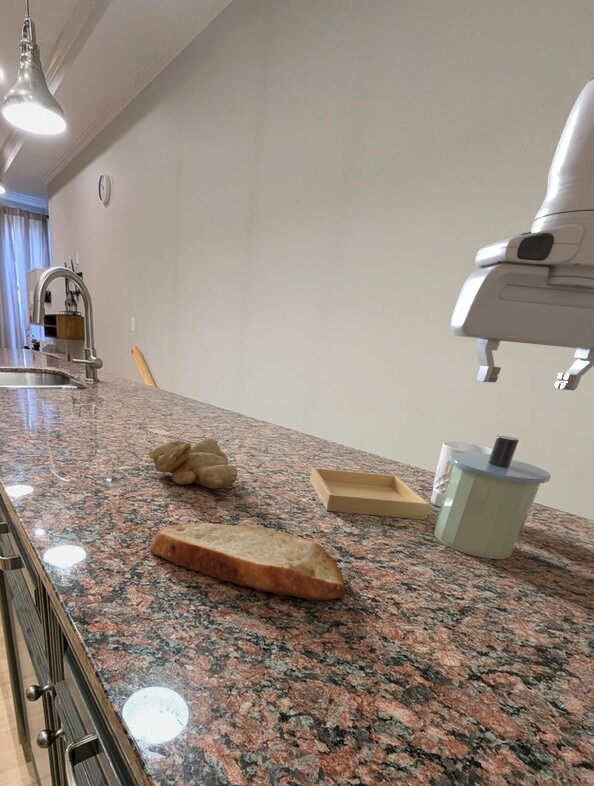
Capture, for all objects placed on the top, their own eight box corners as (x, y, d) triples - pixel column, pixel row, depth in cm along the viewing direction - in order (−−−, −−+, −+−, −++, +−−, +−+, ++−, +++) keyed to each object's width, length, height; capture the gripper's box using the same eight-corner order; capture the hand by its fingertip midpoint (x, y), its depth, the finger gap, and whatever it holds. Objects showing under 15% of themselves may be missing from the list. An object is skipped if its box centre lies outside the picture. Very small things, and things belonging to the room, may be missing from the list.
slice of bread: (142, 540, 53) (143, 511, 52) (272, 526, 60) (276, 500, 59) (198, 632, 38) (202, 594, 37) (363, 599, 45) (371, 567, 44)
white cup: (487, 516, 72) (509, 456, 68) (439, 512, 71) (458, 451, 68) (462, 499, 79) (480, 443, 75) (418, 495, 79) (434, 439, 75)
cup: (487, 530, 66) (511, 462, 62) (528, 562, 57) (560, 484, 53) (422, 524, 66) (442, 455, 62) (453, 555, 57) (479, 477, 53)
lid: (512, 465, 63) (524, 432, 61) (569, 492, 52) (585, 453, 51) (433, 457, 63) (443, 424, 61) (475, 483, 52) (488, 444, 51)
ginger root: (153, 453, 83) (165, 412, 80) (232, 483, 83) (248, 443, 80) (127, 481, 69) (139, 433, 66) (222, 517, 69) (240, 471, 66)
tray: (392, 489, 81) (396, 475, 80) (425, 520, 68) (430, 504, 67) (309, 481, 81) (312, 467, 80) (326, 510, 68) (329, 494, 67)
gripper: (641, 266, 51) (591, 390, 56) (464, 248, 51) (430, 374, 56) (695, 258, 45) (633, 397, 50) (495, 238, 45) (454, 380, 50)
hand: (525, 385), depth 53 cm, fingers open, 8 cm apart
